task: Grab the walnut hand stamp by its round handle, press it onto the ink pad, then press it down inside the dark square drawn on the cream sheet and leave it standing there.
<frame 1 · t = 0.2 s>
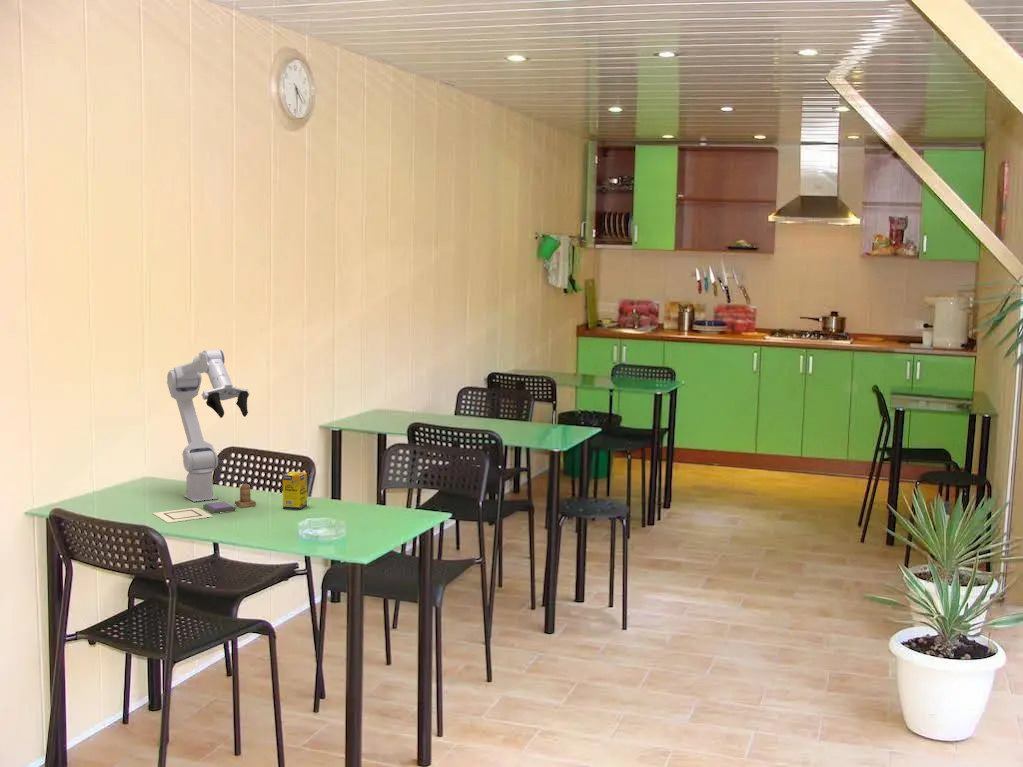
hand: (234, 415, 345), 31 cm above the table, tool tilted 45°, fingers open, 7 cm apart
stamp: (245, 505, 362), on the table
paper sheet: (182, 515, 348), on the table
supplement box: (295, 508, 360), on the table
ink pad: (219, 509, 356), on the table
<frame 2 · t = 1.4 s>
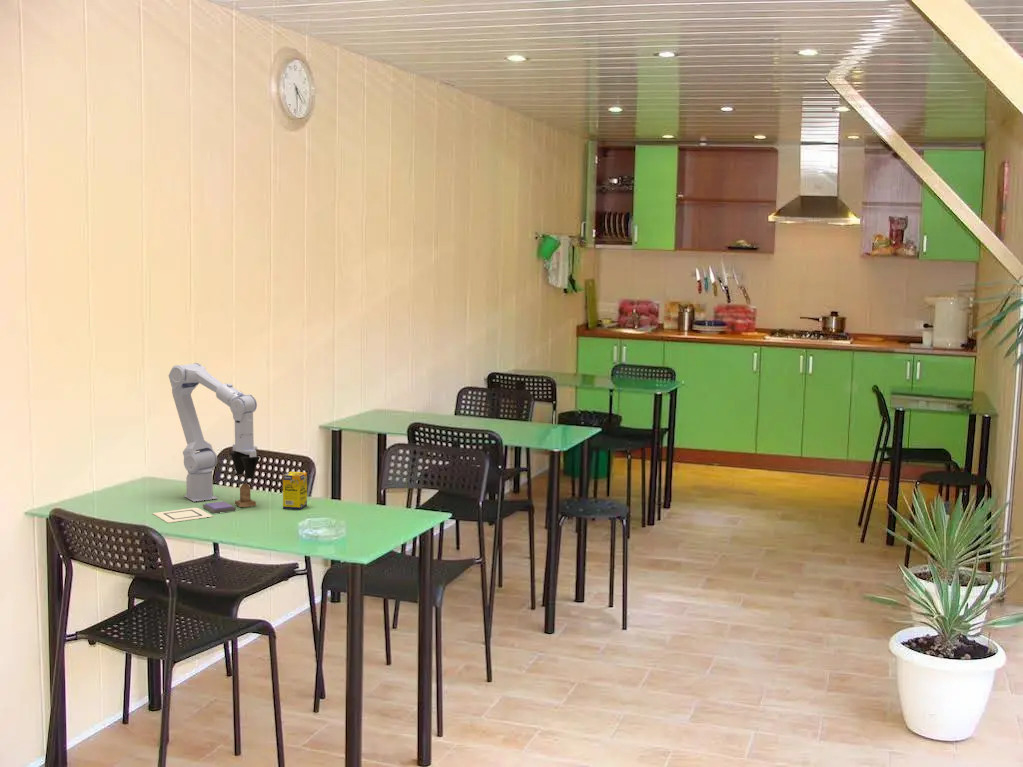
hand: (244, 476, 360), 9 cm above the table, tool pointing down, fingers open, 7 cm apart
nothing on the table moved.
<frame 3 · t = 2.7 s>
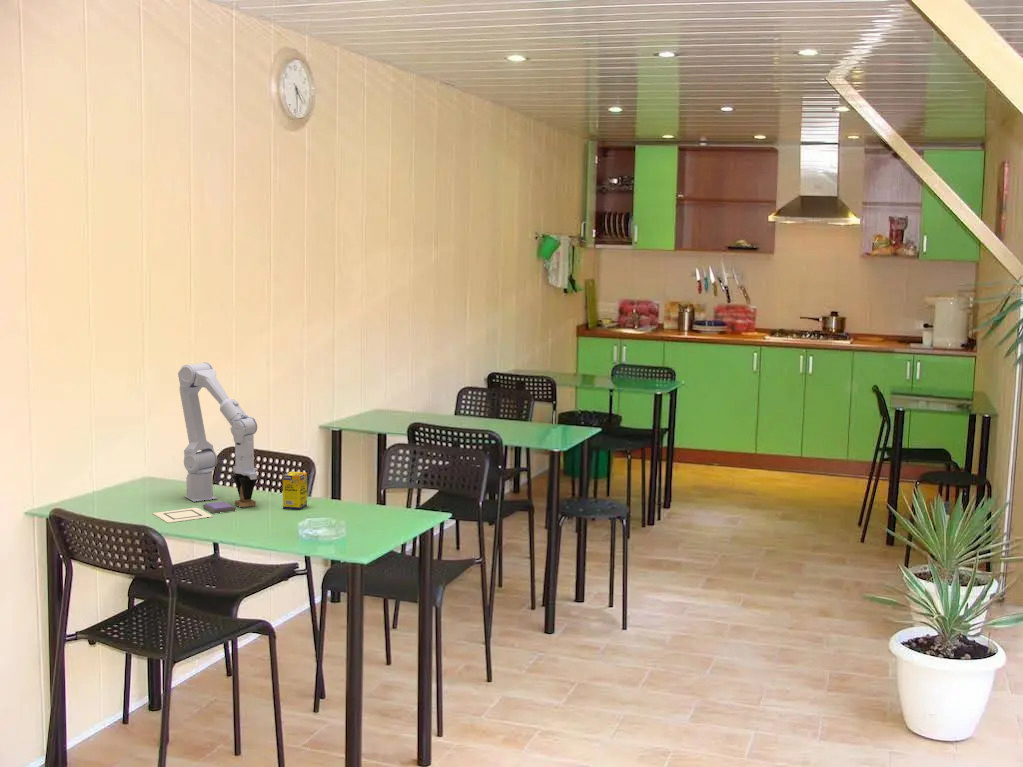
hand: (245, 498, 361), 2 cm above the table, tool pointing down, fingers closed on stamp, 3 cm apart
stamp: (245, 505, 362), on the table, touching gripper
everything else where it was.
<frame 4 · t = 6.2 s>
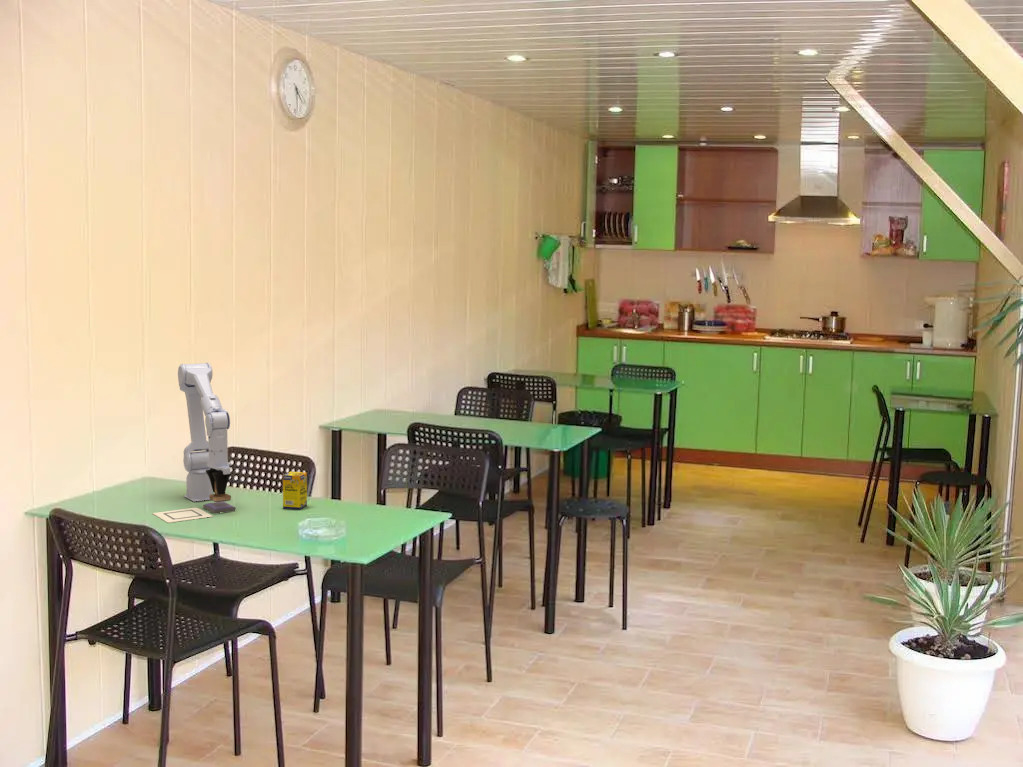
hand: (218, 493, 355), 5 cm above the table, tool pointing down, fingers closed on stamp, 3 cm apart
stamp: (220, 499, 355), point 3 cm above the table, touching gripper
everything else where it was.
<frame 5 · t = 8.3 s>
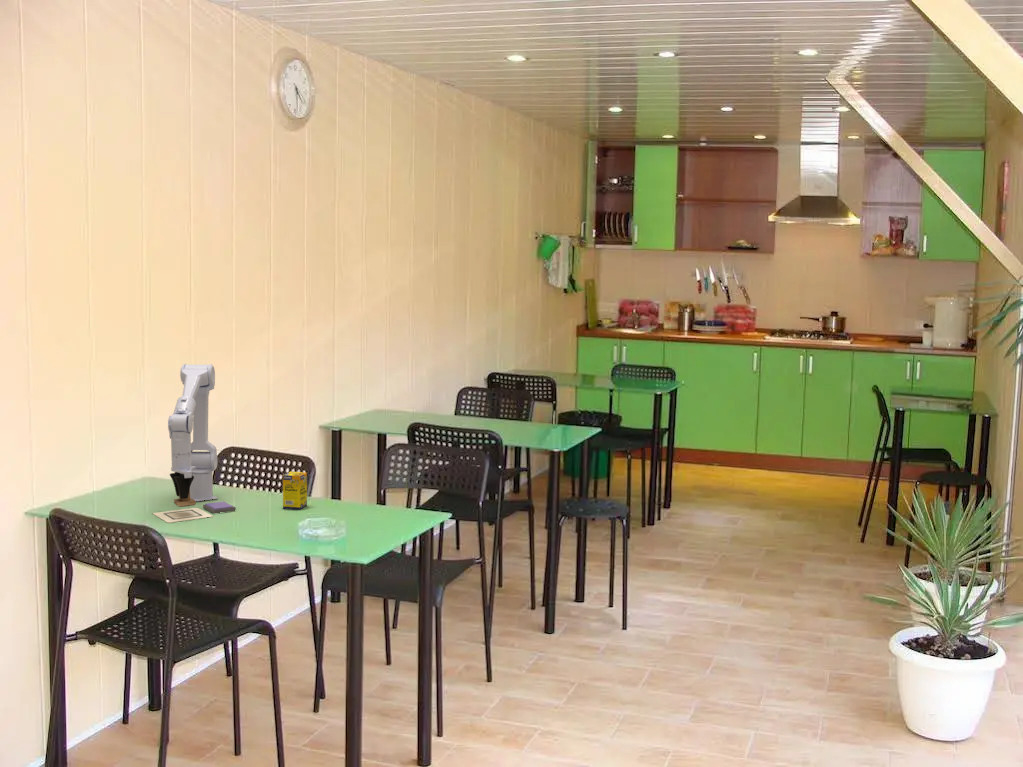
hand: (182, 497, 347), 6 cm above the table, tool pointing down, fingers closed on stamp, 3 cm apart
stamp: (184, 504, 348), point 3 cm above the table, touching gripper
everything else where it was.
when the fingers open (2 cm above the table, at t = 9.4 s): stamp stays where it is, resting on paper sheet.
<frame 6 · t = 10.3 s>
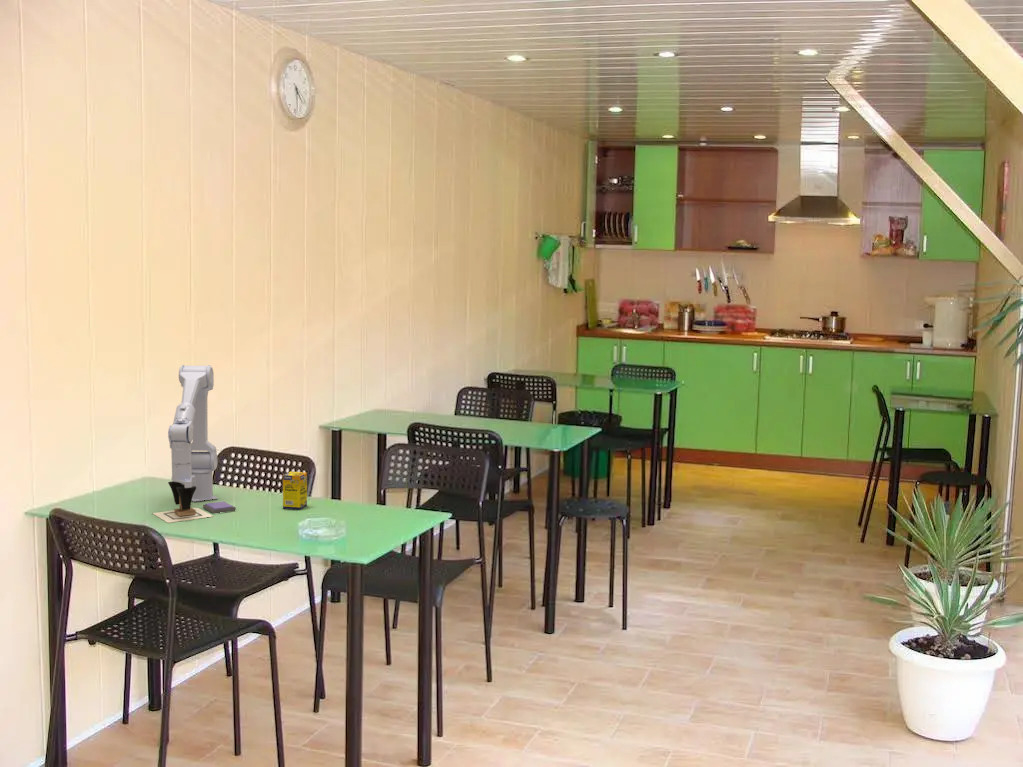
hand: (182, 506, 347), 3 cm above the table, tool pointing down, fingers open, 7 cm apart
stamp: (185, 514, 348), resting on paper sheet
everything else where it was.
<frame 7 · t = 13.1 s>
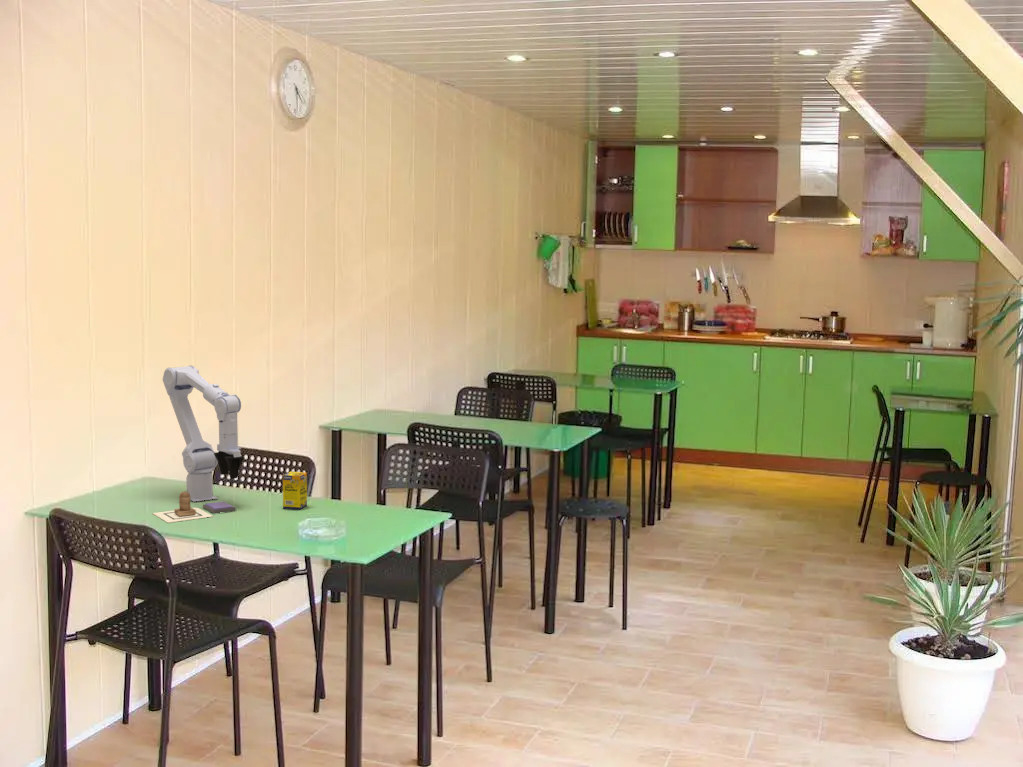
hand: (229, 476, 361), 9 cm above the table, tool pointing down, fingers open, 7 cm apart
nothing on the table moved.
at the end: stamp 0.7 cm off-centre on the paper sheet, point 0.2 cm above the paper sheet's base; stamp tilted 0°; the gripper is holding nothing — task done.
